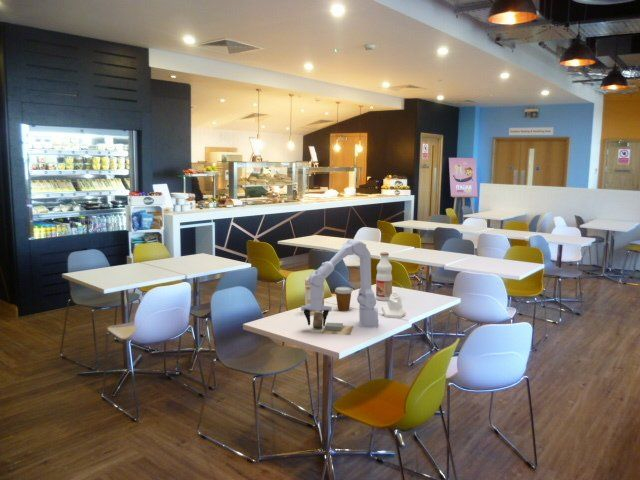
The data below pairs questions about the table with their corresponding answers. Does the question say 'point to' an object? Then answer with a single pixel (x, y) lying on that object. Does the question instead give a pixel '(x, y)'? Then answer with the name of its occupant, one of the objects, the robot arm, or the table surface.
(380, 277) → the fruit juice
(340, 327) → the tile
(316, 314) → the block
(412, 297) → the table surface
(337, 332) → the mat
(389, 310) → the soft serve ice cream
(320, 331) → the block
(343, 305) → the disposable coffee cup
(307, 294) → the coffeecake box
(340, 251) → the robot arm
